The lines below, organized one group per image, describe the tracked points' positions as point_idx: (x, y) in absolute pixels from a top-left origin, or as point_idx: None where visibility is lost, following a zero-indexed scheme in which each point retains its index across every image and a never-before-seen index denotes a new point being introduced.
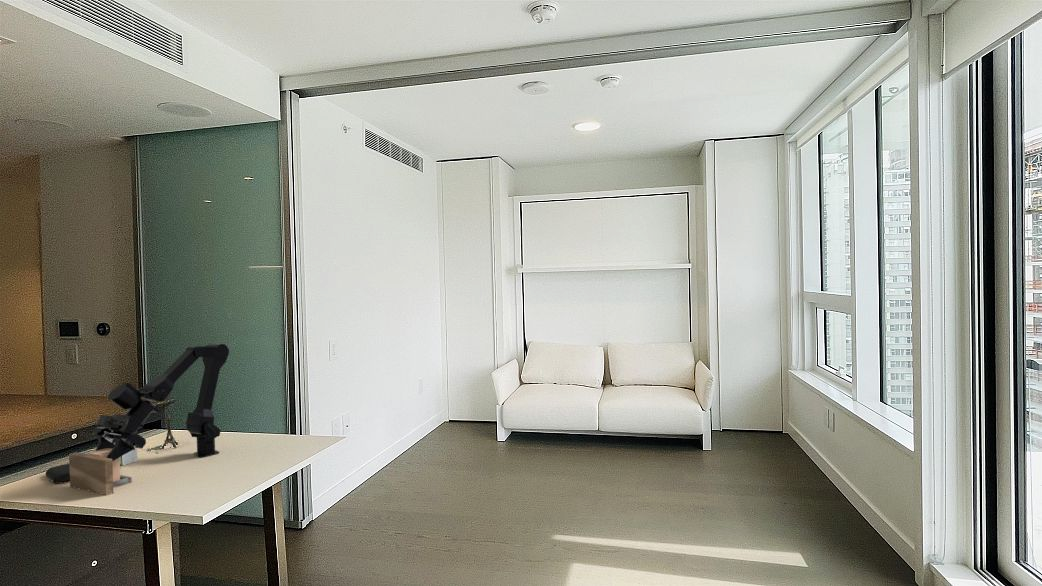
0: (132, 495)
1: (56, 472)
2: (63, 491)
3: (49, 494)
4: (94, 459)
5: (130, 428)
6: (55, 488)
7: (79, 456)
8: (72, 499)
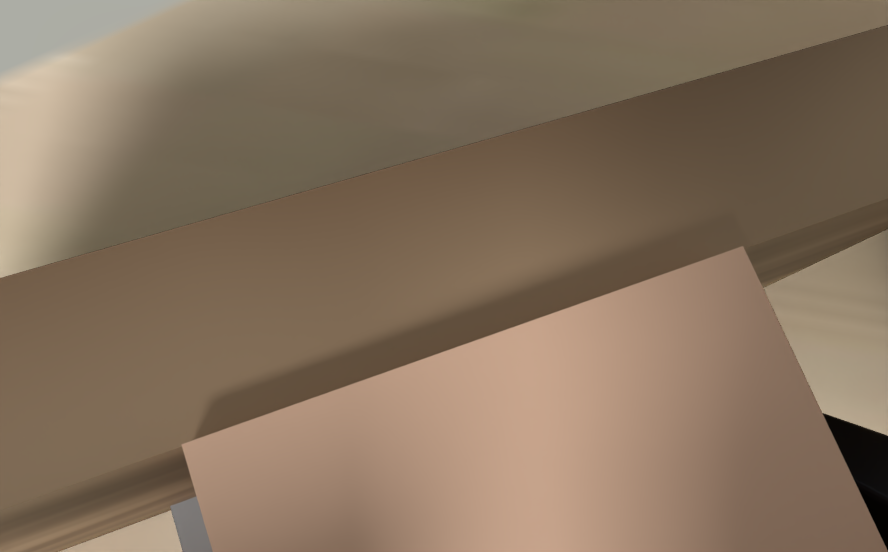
0: None
1: None
2: None
3: (566, 38)
4: (22, 281)
5: None
6: None
7: (695, 81)
8: (151, 157)
